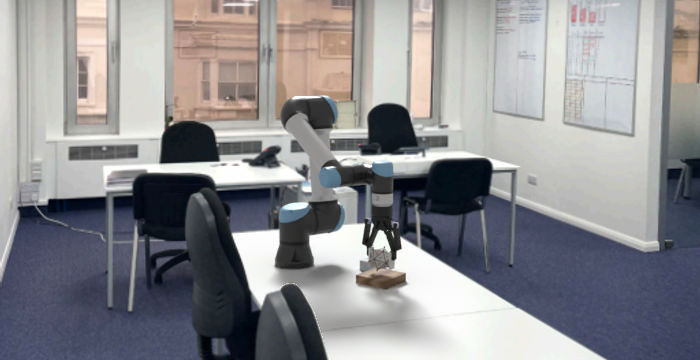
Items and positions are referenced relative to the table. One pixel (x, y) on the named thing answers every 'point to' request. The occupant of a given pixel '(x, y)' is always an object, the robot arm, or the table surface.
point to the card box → (365, 265)
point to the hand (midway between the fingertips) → (381, 266)
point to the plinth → (381, 278)
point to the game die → (380, 258)
